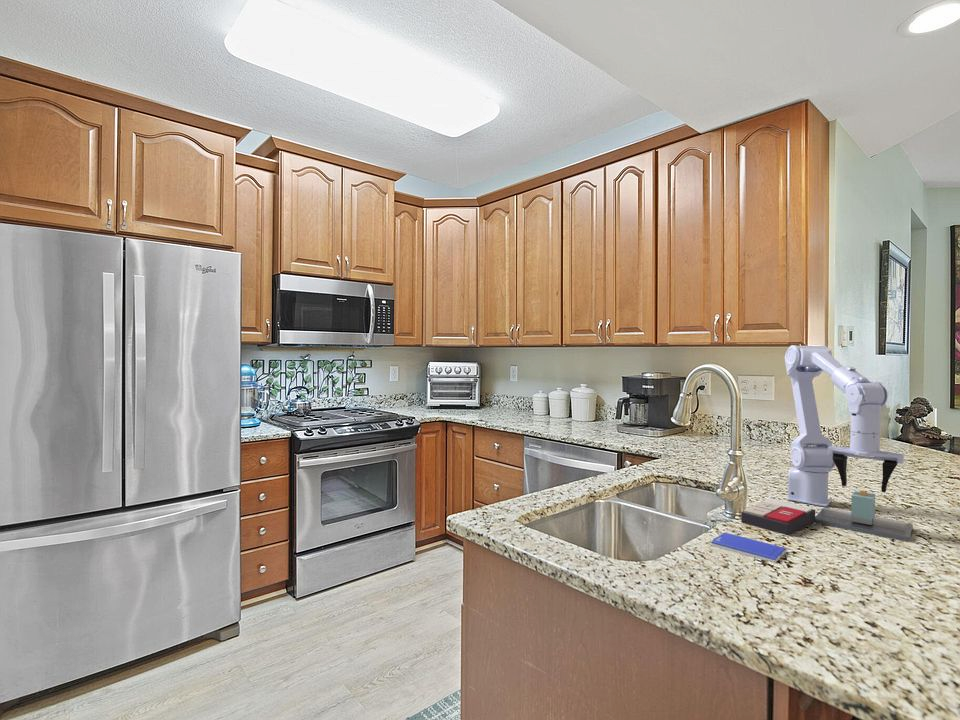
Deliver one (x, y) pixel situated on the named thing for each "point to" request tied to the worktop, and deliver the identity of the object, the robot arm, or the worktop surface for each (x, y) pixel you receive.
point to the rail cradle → (878, 527)
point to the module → (863, 507)
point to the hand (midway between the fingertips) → (863, 488)
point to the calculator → (779, 516)
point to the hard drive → (749, 547)
